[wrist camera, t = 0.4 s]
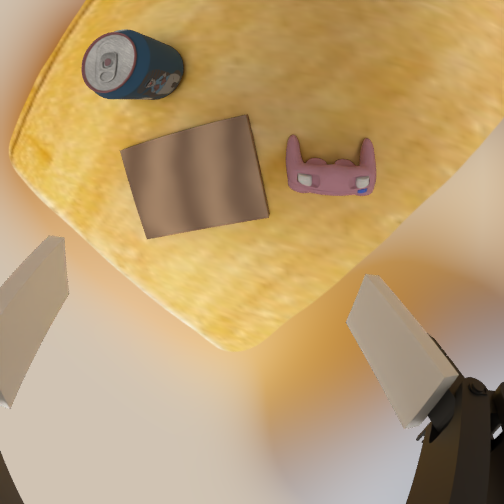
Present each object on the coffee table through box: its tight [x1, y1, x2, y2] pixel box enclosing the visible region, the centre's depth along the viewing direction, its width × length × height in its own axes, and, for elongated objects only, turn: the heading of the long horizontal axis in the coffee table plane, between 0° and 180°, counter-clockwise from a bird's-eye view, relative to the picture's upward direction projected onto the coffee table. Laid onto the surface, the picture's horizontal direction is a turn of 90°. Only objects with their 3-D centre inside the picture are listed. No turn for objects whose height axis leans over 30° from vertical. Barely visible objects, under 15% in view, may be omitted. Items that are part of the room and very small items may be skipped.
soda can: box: [82, 30, 183, 100], centre depth 27 cm, size 7×7×12 cm
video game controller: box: [286, 135, 376, 196], centre depth 32 cm, size 10×5×7 cm, turn 92°
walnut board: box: [120, 115, 270, 239], centre depth 37 cm, size 16×12×2 cm
